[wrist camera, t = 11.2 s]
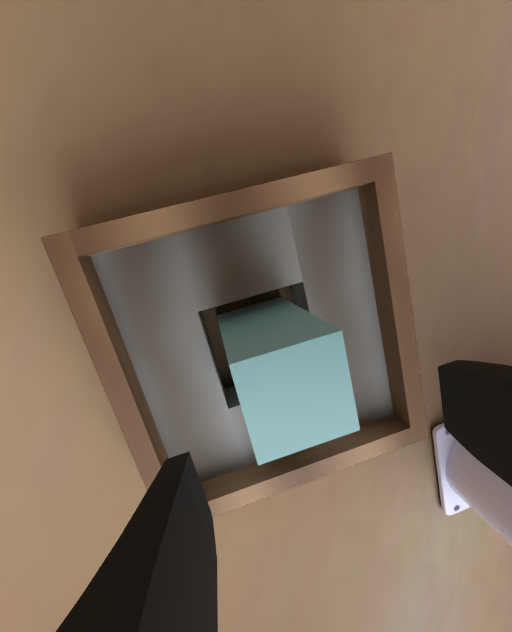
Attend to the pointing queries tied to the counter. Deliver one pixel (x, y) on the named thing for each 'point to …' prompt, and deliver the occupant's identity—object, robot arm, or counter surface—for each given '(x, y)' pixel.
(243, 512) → the counter surface
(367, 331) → the bore box
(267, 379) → the peg
